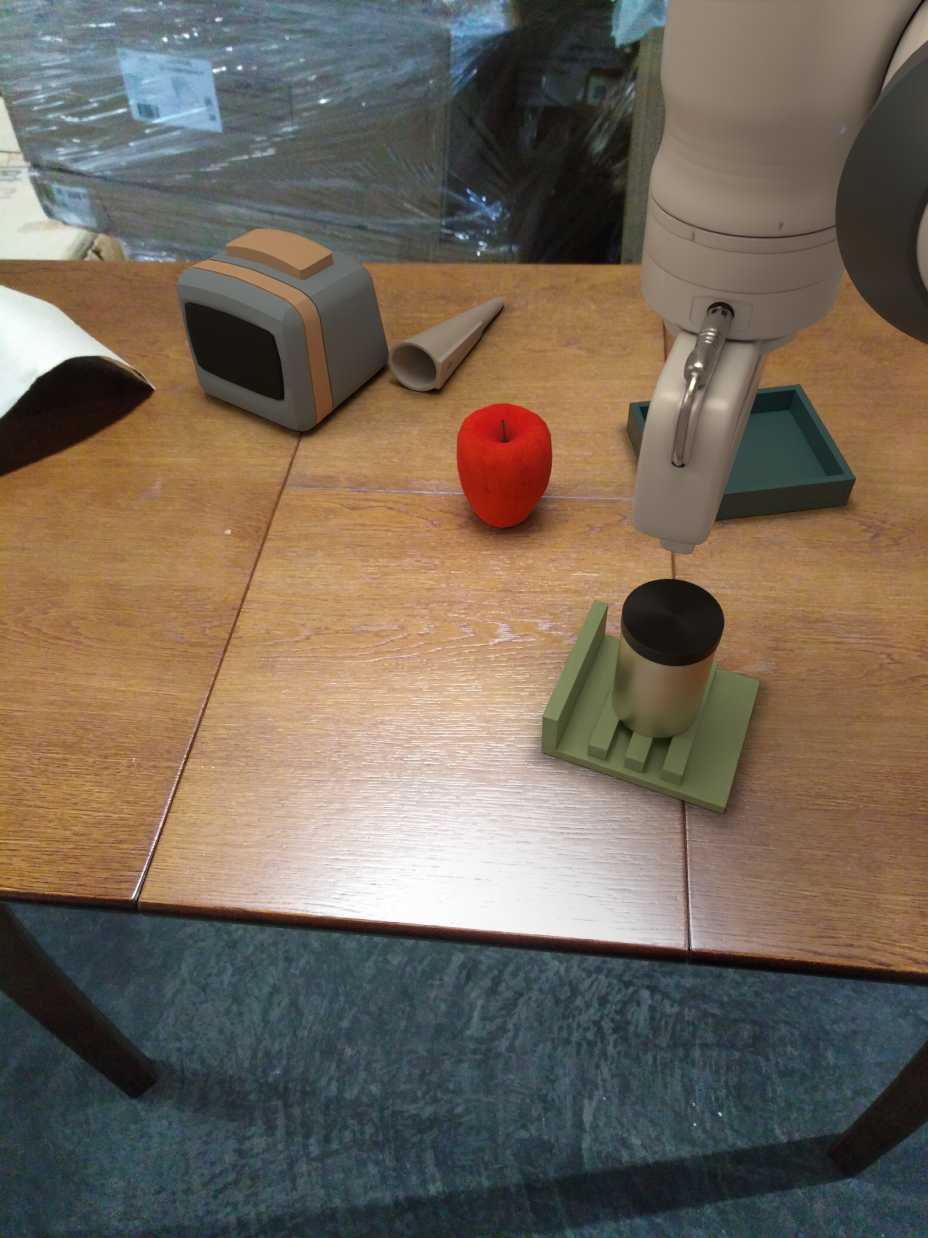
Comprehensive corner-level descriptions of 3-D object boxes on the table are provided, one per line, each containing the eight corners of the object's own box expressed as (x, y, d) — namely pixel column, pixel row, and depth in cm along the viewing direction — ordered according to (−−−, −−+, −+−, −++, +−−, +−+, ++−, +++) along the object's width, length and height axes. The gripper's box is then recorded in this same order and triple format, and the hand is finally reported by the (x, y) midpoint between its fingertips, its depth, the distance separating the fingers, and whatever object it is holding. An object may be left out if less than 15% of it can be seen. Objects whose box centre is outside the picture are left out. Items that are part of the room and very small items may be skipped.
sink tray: (792, 410, 93) (800, 383, 91) (846, 505, 84) (856, 478, 82) (626, 428, 93) (629, 402, 90) (662, 526, 83) (666, 500, 81)
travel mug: (687, 660, 70) (708, 573, 63) (712, 733, 66) (738, 649, 58) (601, 671, 70) (612, 584, 62) (621, 744, 66) (635, 661, 58)
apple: (569, 521, 84) (574, 429, 76) (491, 558, 82) (487, 468, 74) (518, 469, 89) (517, 378, 81) (442, 503, 87) (434, 412, 79)
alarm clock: (195, 396, 100) (150, 262, 88) (290, 325, 108) (261, 193, 96) (307, 444, 94) (275, 307, 81) (398, 364, 102) (382, 228, 90)
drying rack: (758, 687, 71) (771, 649, 68) (723, 814, 65) (735, 780, 61) (590, 638, 75) (594, 599, 72) (540, 752, 69) (542, 716, 65)
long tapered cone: (461, 263, 108) (388, 334, 95) (510, 279, 106) (443, 352, 94) (457, 307, 112) (386, 380, 99) (504, 323, 110) (438, 398, 98)
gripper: (773, 402, 33) (715, 637, 44) (846, 163, 45) (786, 393, 55) (607, 371, 35) (590, 604, 45) (719, 150, 47) (685, 375, 57)
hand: (698, 486), depth 50 cm, fingers open, 8 cm apart
